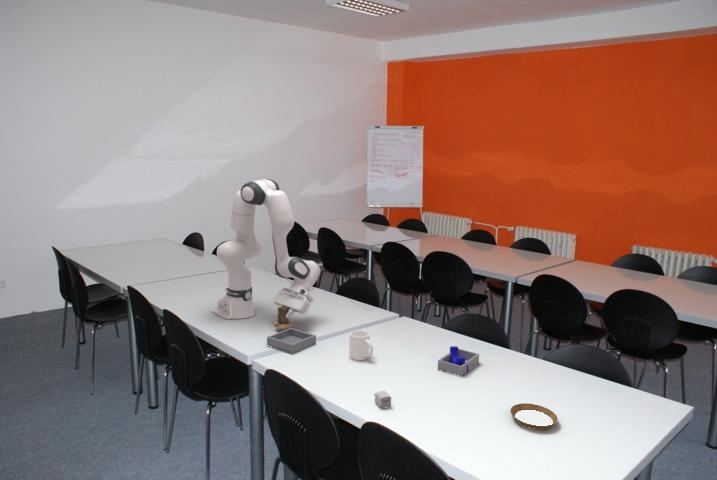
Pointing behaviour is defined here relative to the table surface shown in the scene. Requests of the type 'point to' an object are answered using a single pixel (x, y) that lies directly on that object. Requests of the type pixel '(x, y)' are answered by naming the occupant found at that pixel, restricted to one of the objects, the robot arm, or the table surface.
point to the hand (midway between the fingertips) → (282, 316)
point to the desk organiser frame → (456, 369)
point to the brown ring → (533, 407)
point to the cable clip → (456, 357)
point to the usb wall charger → (382, 399)
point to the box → (291, 340)
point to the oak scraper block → (283, 318)
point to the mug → (360, 345)
